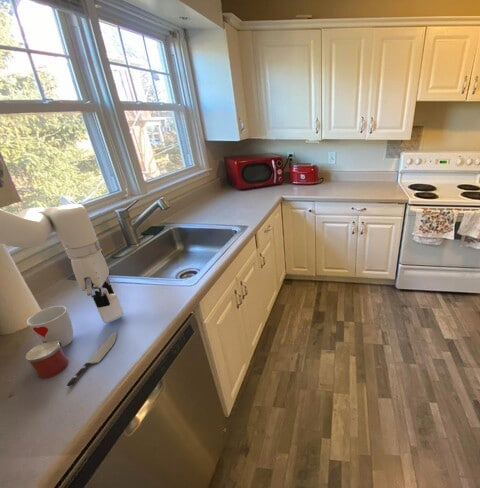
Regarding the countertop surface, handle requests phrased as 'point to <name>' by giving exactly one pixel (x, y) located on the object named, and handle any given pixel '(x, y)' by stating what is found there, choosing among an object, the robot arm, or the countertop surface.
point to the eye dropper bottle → (110, 308)
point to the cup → (52, 325)
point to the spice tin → (47, 359)
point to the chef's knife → (95, 357)
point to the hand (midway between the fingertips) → (106, 300)
